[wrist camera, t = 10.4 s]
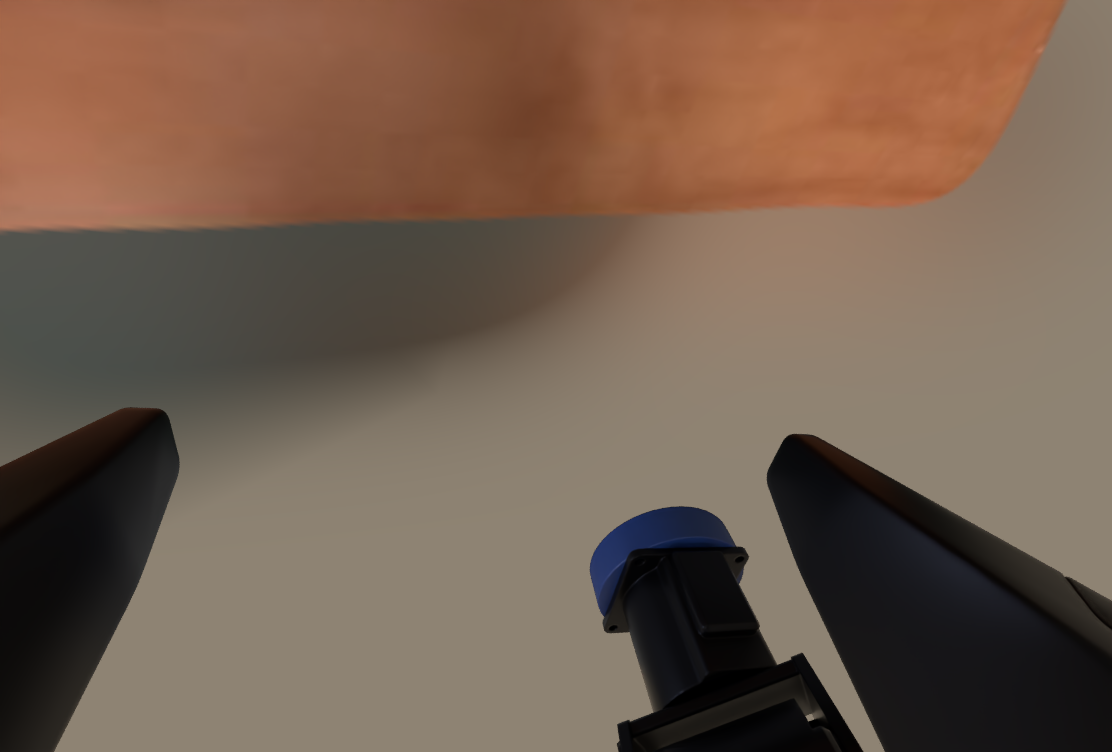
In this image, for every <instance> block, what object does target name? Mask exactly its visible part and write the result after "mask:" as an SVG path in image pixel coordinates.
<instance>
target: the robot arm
mask: <svg viewBox="0 0 1112 752" xmlns="http://www.w3.org/2000/svg"><path fill="white" fill-rule="evenodd" d="M178 473H179V456H178V452H177V448H176V444H175V440H174V436H173V432H172V428H171V424H170V420H169V418H168V415H167V414H166V413H165V412H164V411H163V410H161V409H157V408H132V407H130V408H123V409H120V410H118V411H116V412H114V413H112V414H109V415H107V416H105V417H103V418H101V419H99V420H97V421H95V422H93V423H91V424H89V425H87V426H85V427H82V428H80V429H78V430H76V431H74V432H72V433H70V434H68V435H66V436H64V437H62V438H60V439H57V440H55V441H53V442H51V443H49V444H47V445H45V446H43V447H41V448H39V449H37V450H34V451H32V452H30V453H28V454H26V455H24V456H22V457H20V458H18V459H16V460H14V461H12V462H10V463H8V464H5V465H3V466H1V467H0V752H54V751H55V749H56V747H57V744H58V743H59V741H60V739H61V737H62V735H63V733H64V731H65V729H66V727H67V725H68V723H69V721H70V719H71V717H72V715H73V713H74V711H75V709H76V707H77V705H78V703H79V701H80V699H81V697H82V695H83V693H84V691H85V689H86V687H87V685H88V683H89V681H90V679H91V677H92V676H93V674H94V672H95V670H96V668H97V665H98V664H99V662H100V660H101V658H102V656H103V654H104V652H105V650H106V648H107V646H108V644H109V642H110V640H111V638H112V636H113V634H114V632H115V630H116V628H117V626H118V624H119V622H120V620H121V618H122V616H123V614H124V612H125V610H126V608H127V606H128V604H129V602H130V600H131V598H132V596H133V594H134V592H135V589H136V587H137V585H138V583H139V580H140V578H141V575H142V572H143V570H144V567H145V565H146V562H147V559H148V556H149V554H150V551H151V548H152V545H153V543H154V540H155V537H156V535H157V532H158V529H159V526H160V524H161V521H162V518H163V515H164V513H165V510H166V507H167V504H168V502H169V499H170V496H171V493H172V490H173V488H174V485H175V482H176V480H177V476H178ZM767 484H768V487H769V490H770V493H771V495H772V499H773V501H774V504H775V507H776V510H777V512H778V515H779V518H780V521H781V523H782V526H783V529H784V532H785V534H786V536H787V540H788V543H789V545H790V548H791V550H792V554H793V556H794V559H795V561H796V564H797V566H798V569H799V571H800V573H801V575H802V578H803V580H804V582H805V584H806V586H807V588H808V591H809V593H810V595H811V597H812V599H813V601H814V603H815V605H816V607H817V610H818V612H819V614H820V616H821V618H822V620H823V622H824V624H825V626H826V628H827V631H828V632H829V635H830V637H831V639H832V641H833V643H834V645H835V647H836V649H837V652H838V654H839V655H840V658H841V660H842V662H843V664H844V666H845V669H846V670H847V673H848V675H849V677H850V679H851V681H852V683H853V685H854V687H855V690H856V692H857V694H858V696H859V698H860V700H861V702H862V704H863V706H864V708H865V711H866V713H867V715H868V717H869V719H870V721H871V723H872V725H873V727H874V730H875V731H876V734H877V736H878V738H879V740H880V742H881V744H882V746H883V749H884V751H885V752H1112V601H1111V600H1110V599H1108V598H1106V597H1104V596H1102V595H1100V594H1098V593H1097V592H1095V591H1093V590H1091V589H1089V588H1088V587H1086V586H1084V585H1082V584H1081V583H1079V582H1077V581H1075V580H1073V579H1072V578H1070V577H1064V576H1063V574H1062V573H1060V572H1059V571H1057V570H1055V569H1054V568H1052V567H1050V566H1048V565H1046V564H1045V563H1043V562H1041V561H1039V560H1037V559H1035V558H1033V557H1032V556H1030V555H1028V554H1027V553H1025V552H1023V551H1021V550H1019V549H1017V548H1016V547H1014V546H1012V545H1010V544H1009V543H1007V542H1005V541H1003V540H1001V539H1000V538H998V537H996V536H994V535H992V534H991V533H989V532H987V531H985V530H983V529H982V528H980V527H978V526H976V525H975V524H973V523H971V522H969V521H967V520H965V519H963V518H962V517H960V516H958V515H956V514H955V513H953V512H951V511H949V510H948V509H946V508H944V507H942V506H940V505H939V504H937V503H935V502H933V501H931V500H930V499H928V498H926V497H924V496H922V495H921V494H919V493H917V492H915V491H913V490H912V489H910V488H908V487H906V486H905V485H903V484H901V483H899V482H897V481H895V480H894V479H892V478H890V477H888V476H887V475H885V474H883V473H881V472H879V471H878V470H875V469H874V468H872V467H870V466H869V465H867V464H865V463H863V462H861V461H859V460H858V459H856V458H854V457H852V456H851V455H849V454H847V453H845V452H843V451H842V450H840V449H838V448H836V447H835V446H833V445H831V444H829V443H827V442H826V441H824V440H822V439H820V438H818V437H816V436H814V435H807V434H792V435H789V436H787V437H786V438H785V439H784V440H783V442H782V444H781V446H780V448H779V450H778V452H777V454H776V455H775V457H774V460H773V462H772V463H771V465H770V467H769V469H768V472H767ZM748 558H749V556H748V554H747V552H746V550H745V549H744V548H743V547H696V548H642V549H635V550H633V551H631V552H630V553H629V555H628V557H627V559H626V562H625V564H624V567H623V570H622V572H621V575H620V578H619V580H618V583H617V585H616V588H615V591H614V593H613V596H612V598H611V601H610V604H609V606H608V609H607V612H606V614H605V617H604V619H603V627H604V631H605V632H607V633H623V632H630V635H631V638H632V642H633V645H634V648H635V652H636V655H637V659H638V662H639V665H640V669H641V672H642V675H643V679H644V682H645V685H646V688H647V692H648V696H649V699H650V702H651V705H652V709H653V712H654V713H651V714H649V715H646V716H644V717H641V718H638V719H636V720H633V721H631V722H630V721H629V720H627V721H624V722H622V723H619V724H618V725H617V726H618V733H619V739H620V741H619V742H618V743H617V747H618V751H619V752H863V750H862V749H861V747H860V745H859V744H858V742H857V740H856V739H855V737H854V735H853V734H852V732H851V731H850V729H849V728H848V726H847V724H846V723H845V721H844V719H843V718H842V716H841V714H840V713H839V711H838V709H837V708H836V706H835V705H834V703H833V701H832V700H831V698H830V697H829V695H828V693H827V692H826V690H825V688H824V687H823V685H822V684H821V682H820V680H819V679H818V677H817V675H816V674H815V672H814V670H813V669H812V667H811V666H810V664H809V663H808V661H807V659H806V657H805V656H804V654H803V653H800V654H797V655H795V656H792V657H791V660H789V661H786V662H784V663H781V664H779V665H777V663H776V661H775V660H774V658H773V656H772V654H771V652H770V650H769V648H768V646H767V644H766V642H765V640H764V638H763V636H762V634H761V632H760V630H759V627H760V625H759V622H758V620H757V619H756V616H755V615H754V613H753V611H752V609H751V607H750V605H749V603H748V601H747V599H746V597H745V595H744V593H743V591H742V589H741V588H740V586H739V583H738V582H737V578H738V576H739V574H740V573H741V571H742V569H743V567H744V565H745V564H746V562H747V560H748ZM809 714H812V715H813V717H814V720H812V721H809V722H808V721H807V718H806V717H805V716H806V715H809Z"/></svg>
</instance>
